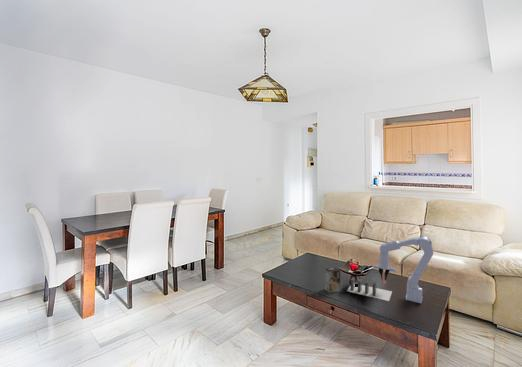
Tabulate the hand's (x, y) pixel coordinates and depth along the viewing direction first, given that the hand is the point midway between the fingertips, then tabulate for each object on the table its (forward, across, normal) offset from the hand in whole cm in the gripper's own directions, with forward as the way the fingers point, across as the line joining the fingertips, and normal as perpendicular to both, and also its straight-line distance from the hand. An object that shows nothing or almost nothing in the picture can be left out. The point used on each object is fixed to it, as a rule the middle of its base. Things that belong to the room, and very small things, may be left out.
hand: (384, 279), depth 194 cm
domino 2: (+9, +15, +7) cm, 19 cm away
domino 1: (+9, +20, +7) cm, 23 cm away
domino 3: (+9, +10, +7) cm, 15 cm away
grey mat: (+10, +9, +4) cm, 14 cm away
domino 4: (+9, +5, +7) cm, 13 cm away
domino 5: (+3, 0, 0) cm, 3 cm away
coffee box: (+10, +32, +16) cm, 37 cm away
